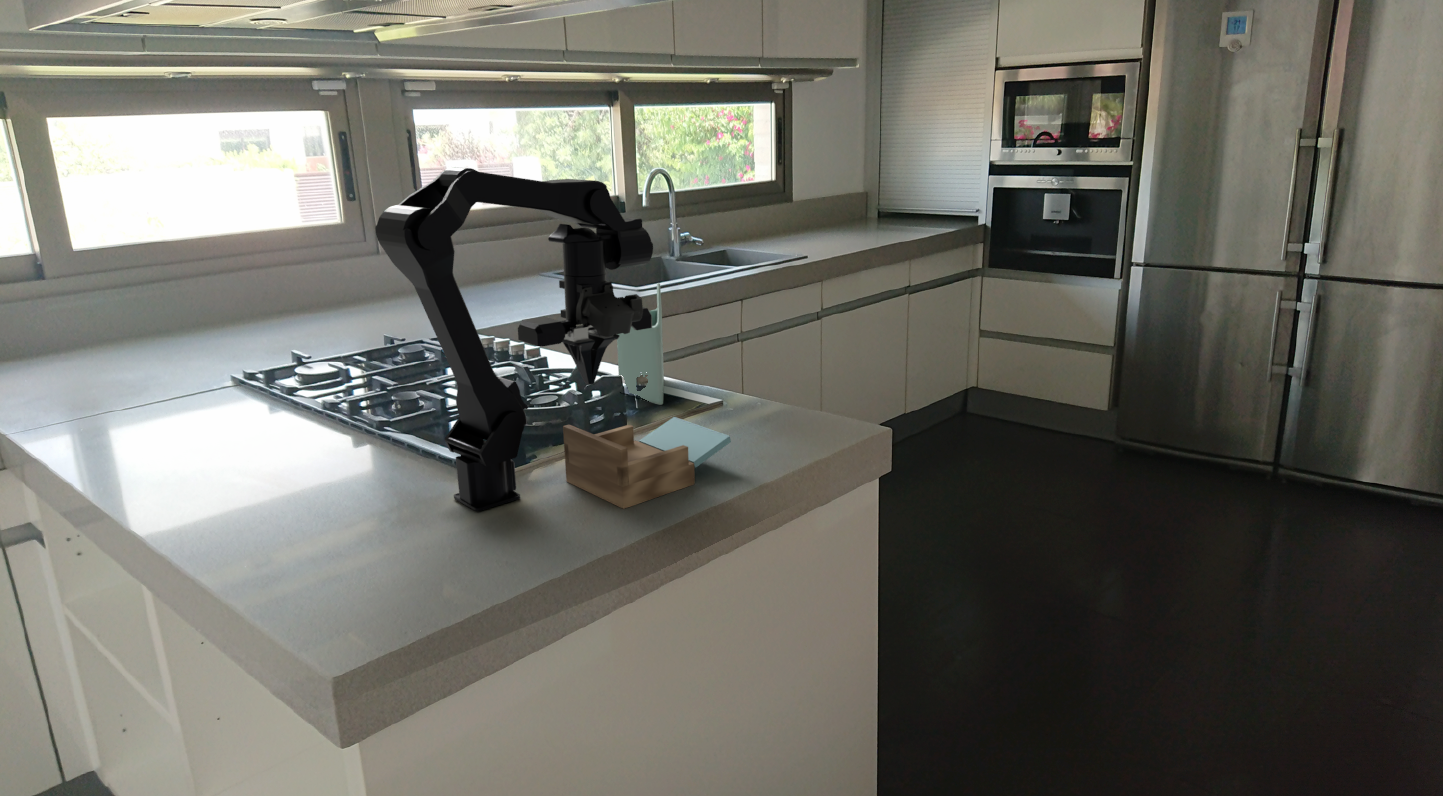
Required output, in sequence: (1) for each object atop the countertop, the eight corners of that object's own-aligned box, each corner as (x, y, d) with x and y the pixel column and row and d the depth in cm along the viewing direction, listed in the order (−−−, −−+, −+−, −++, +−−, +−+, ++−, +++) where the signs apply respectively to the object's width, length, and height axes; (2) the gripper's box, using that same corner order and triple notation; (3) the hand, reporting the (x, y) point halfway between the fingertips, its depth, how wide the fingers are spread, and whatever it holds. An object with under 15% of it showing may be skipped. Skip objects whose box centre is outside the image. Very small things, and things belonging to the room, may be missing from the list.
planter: (621, 380, 179) (617, 276, 173) (663, 379, 179) (660, 275, 174) (616, 406, 163) (611, 292, 158) (663, 404, 164) (659, 291, 158)
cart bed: (623, 508, 121) (620, 449, 119) (566, 481, 130) (562, 426, 128) (694, 484, 129) (693, 428, 127) (636, 459, 138) (633, 407, 136)
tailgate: (693, 461, 129) (729, 435, 132) (639, 440, 137) (674, 416, 141) (696, 472, 129) (732, 446, 133) (642, 450, 138) (677, 426, 142)
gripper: (557, 289, 118) (563, 409, 122) (675, 273, 130) (677, 384, 134) (512, 278, 126) (519, 391, 130) (627, 264, 138) (630, 369, 142)
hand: (589, 384), depth 134 cm, fingers closed
